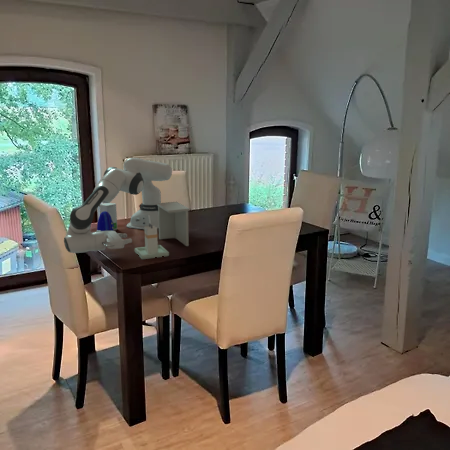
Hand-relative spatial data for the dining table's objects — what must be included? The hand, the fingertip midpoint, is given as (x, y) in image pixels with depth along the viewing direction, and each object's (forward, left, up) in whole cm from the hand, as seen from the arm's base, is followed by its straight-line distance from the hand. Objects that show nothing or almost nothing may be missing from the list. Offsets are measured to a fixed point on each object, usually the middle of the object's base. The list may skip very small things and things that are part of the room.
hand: (129, 237), depth 238 cm
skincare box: (-32, +44, -10) cm, 56 cm away
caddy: (+9, +7, -9) cm, 14 cm away
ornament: (-26, +28, -10) cm, 40 cm away
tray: (+9, +6, -9) cm, 14 cm away
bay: (+13, +28, -9) cm, 32 cm away
